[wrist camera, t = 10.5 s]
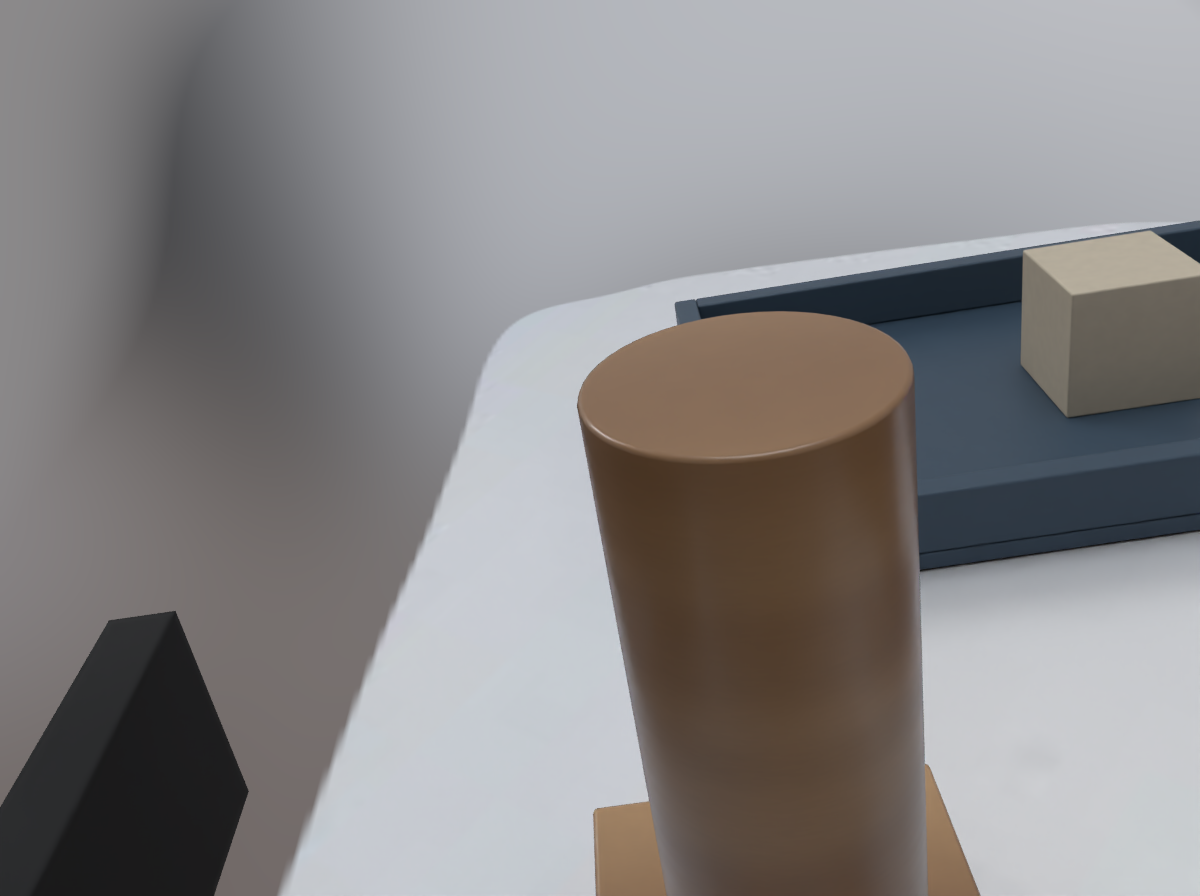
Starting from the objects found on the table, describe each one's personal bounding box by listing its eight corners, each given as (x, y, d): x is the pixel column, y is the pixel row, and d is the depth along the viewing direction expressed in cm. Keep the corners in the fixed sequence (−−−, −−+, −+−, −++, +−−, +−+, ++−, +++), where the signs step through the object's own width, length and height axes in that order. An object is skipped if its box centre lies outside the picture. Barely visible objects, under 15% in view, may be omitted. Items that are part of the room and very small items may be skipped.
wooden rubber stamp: (1147, 1584, 13) (1318, 612, 6) (670, 1633, 13) (383, 741, 7) (933, 945, 20) (914, 197, 14) (630, 984, 21) (475, 266, 14)
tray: (736, 597, 30) (728, 523, 29) (681, 357, 44) (674, 301, 43) (1707, 457, 29) (1735, 375, 28) (1337, 256, 43) (1347, 196, 42)
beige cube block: (1066, 418, 34) (1072, 294, 33) (1019, 364, 38) (1022, 249, 36) (1201, 399, 34) (1214, 272, 32) (1142, 346, 38) (1151, 229, 36)
